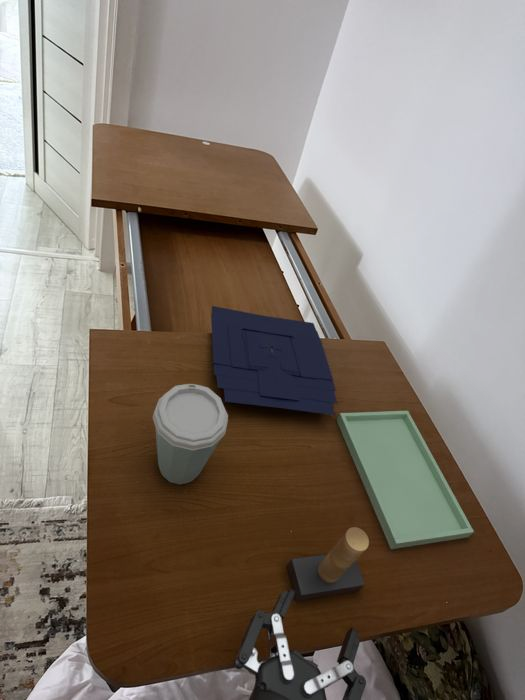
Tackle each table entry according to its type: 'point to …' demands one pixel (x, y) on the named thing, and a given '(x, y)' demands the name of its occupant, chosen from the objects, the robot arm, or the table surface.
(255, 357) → the folded navy cloth
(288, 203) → the table surface
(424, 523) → the tray
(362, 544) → the wooden handled stamp
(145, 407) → the table surface
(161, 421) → the disposable coffee cup
